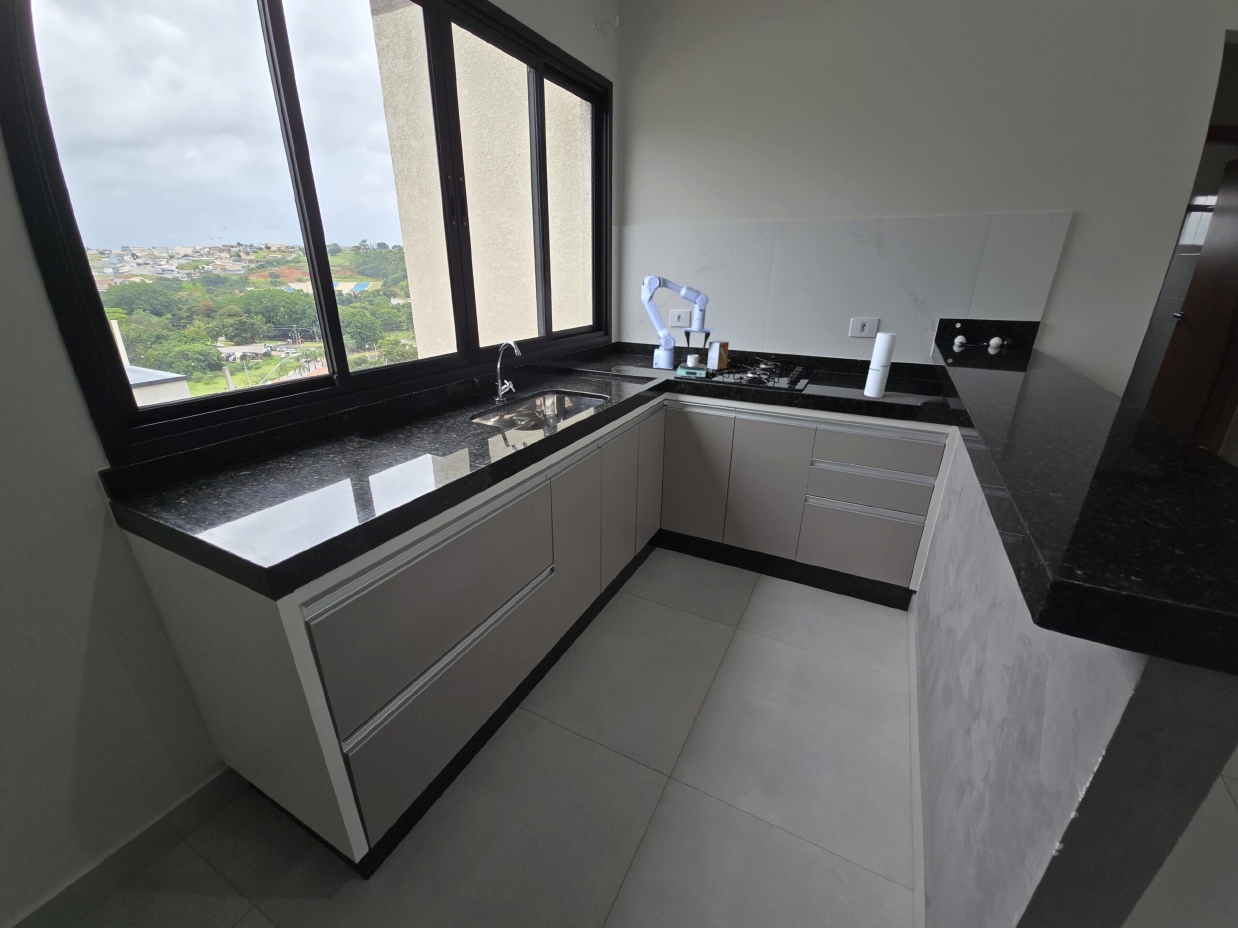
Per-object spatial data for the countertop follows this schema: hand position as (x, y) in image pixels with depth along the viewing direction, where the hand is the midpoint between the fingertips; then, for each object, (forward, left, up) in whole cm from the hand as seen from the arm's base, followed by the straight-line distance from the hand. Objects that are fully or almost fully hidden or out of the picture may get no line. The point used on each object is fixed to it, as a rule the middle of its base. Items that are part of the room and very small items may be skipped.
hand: (696, 347), depth 248 cm
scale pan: (0, -16, -7) cm, 17 cm away
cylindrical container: (+76, -32, -10) cm, 83 cm away
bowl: (0, -16, -6) cm, 17 cm away
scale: (0, -16, -10) cm, 19 cm away
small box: (+11, +4, -10) cm, 15 cm away
